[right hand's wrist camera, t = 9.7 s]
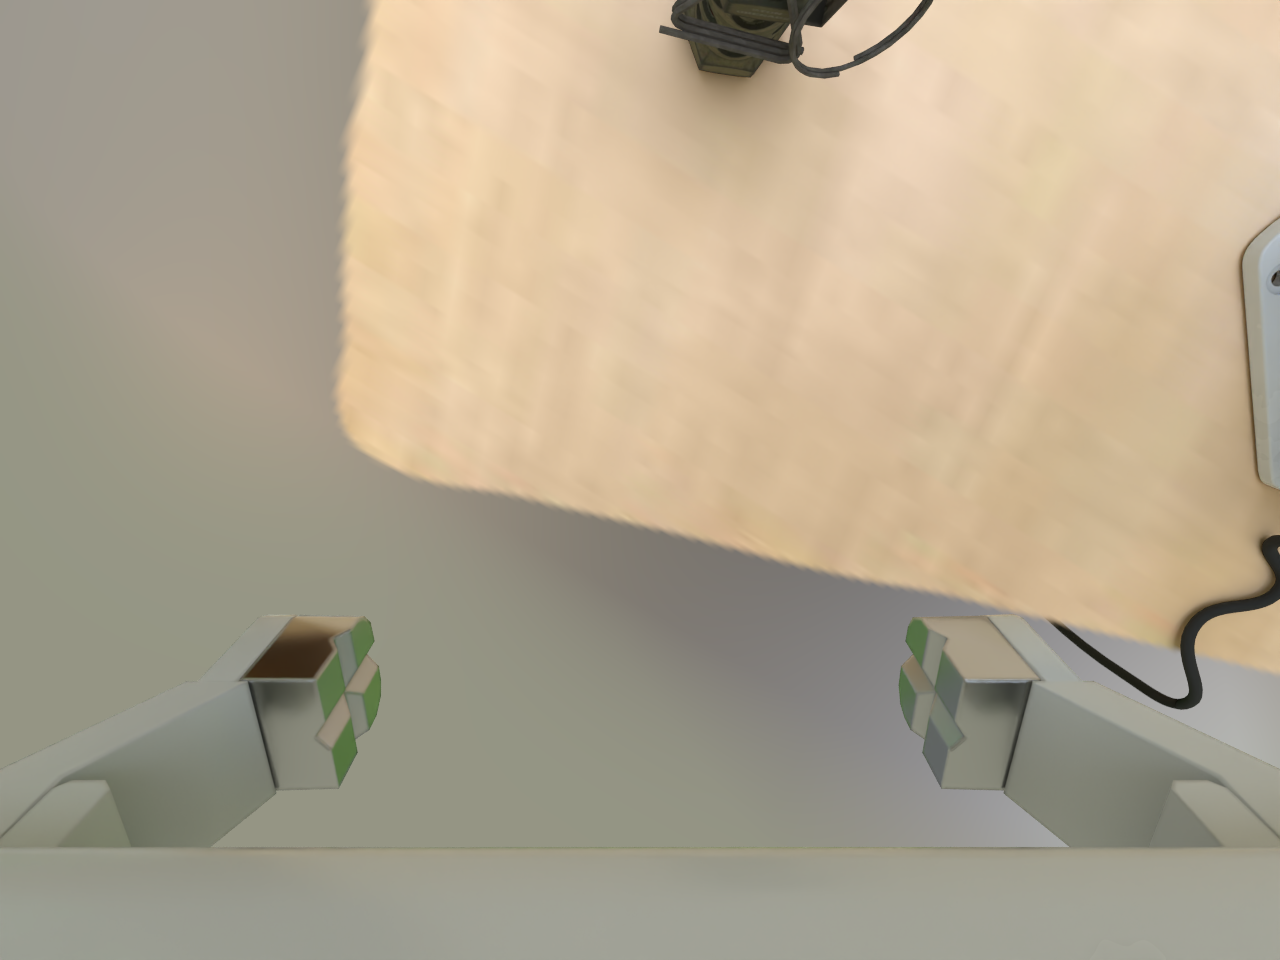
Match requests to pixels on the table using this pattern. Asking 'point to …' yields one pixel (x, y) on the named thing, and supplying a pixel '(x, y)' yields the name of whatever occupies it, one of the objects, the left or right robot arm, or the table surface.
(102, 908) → the right robot arm
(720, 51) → the grenade
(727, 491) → the table surface
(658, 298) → the table surface
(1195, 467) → the table surface
